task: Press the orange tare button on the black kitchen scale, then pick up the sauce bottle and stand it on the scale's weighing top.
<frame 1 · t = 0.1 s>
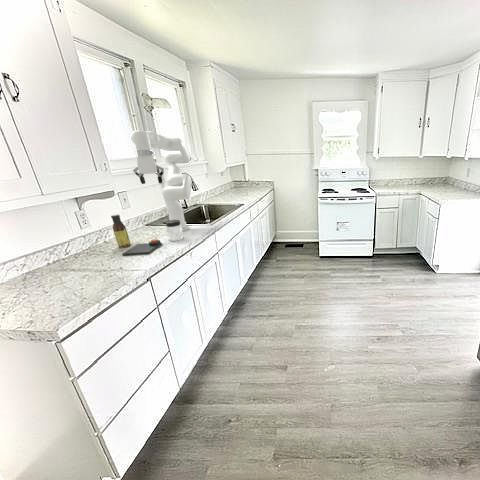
hand: (152, 183, 158), 37 cm above the worktop, tool pointing down, fingers open, 9 cm apart
scale: (143, 250, 154), on the worktop
sauce bottle: (124, 246, 161), on the worktop
jar: (176, 239, 172), on the worktop
tare button: (154, 241, 159), point 3 cm above the worktop, slide at 0.1 cm
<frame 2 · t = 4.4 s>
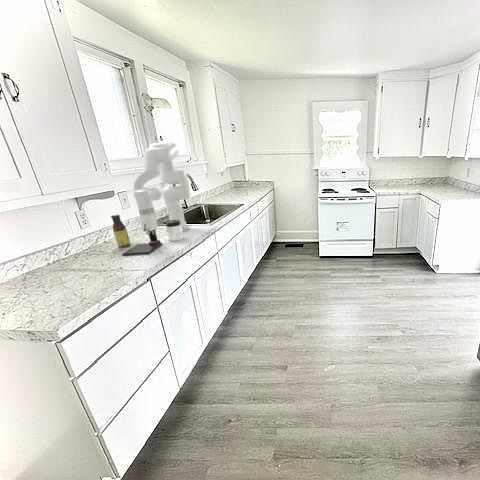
hand: (154, 240, 158), 4 cm above the worktop, tool pointing down, fingers closed
tare button: (154, 241, 159), point 3 cm above the worktop, slide at -0.5 cm, touching gripper
everything else where it was.
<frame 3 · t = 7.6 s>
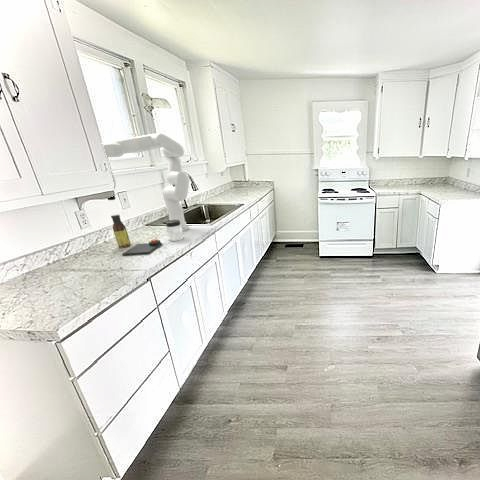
hand: (111, 199, 151), 29 cm above the worktop, tool pointing down, fingers closed
tare button: (154, 241, 159), point 3 cm above the worktop, slide at 0.1 cm
everything else where it was.
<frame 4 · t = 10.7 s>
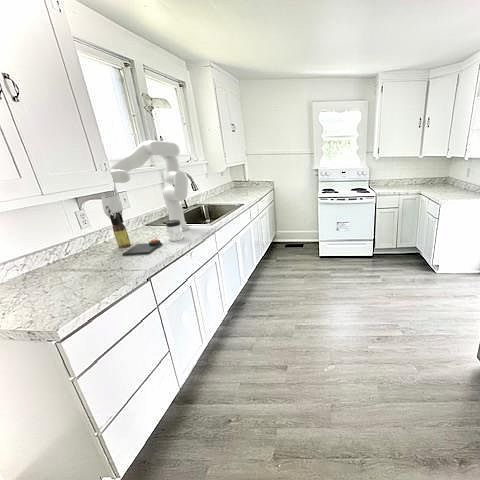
hand: (118, 223, 156), 15 cm above the worktop, tool pointing down, fingers closed on sauce bottle, 4 cm apart
sauce bottle: (124, 246, 161), on the worktop, touching gripper
everything else where it was.
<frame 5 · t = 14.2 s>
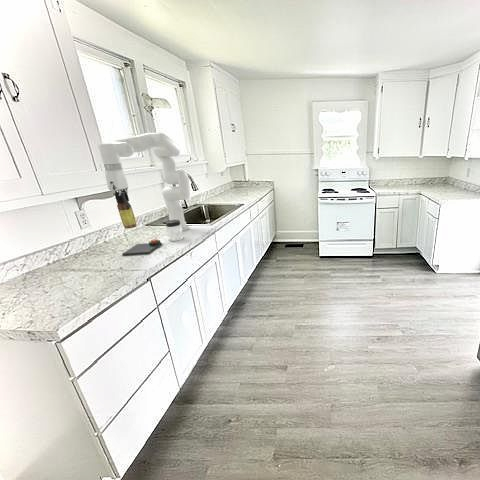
hand: (123, 201, 143), 29 cm above the worktop, tool pointing down, fingers closed on sauce bottle, 4 cm apart
sauce bottle: (130, 227, 148), point 14 cm above the worktop, touching gripper
everything else where it was.
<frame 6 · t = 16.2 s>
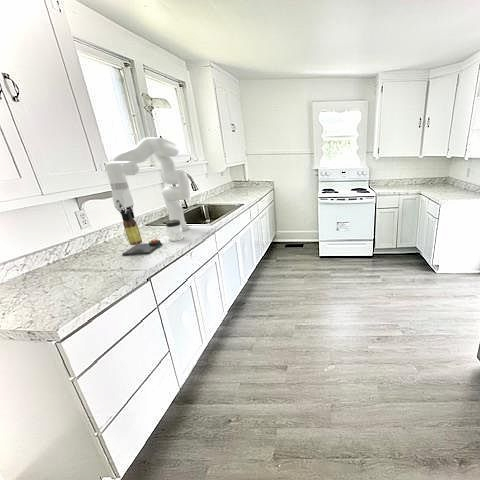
hand: (128, 219, 146), 20 cm above the worktop, tool pointing down, fingers closed on sauce bottle, 4 cm apart
sauce bottle: (136, 243, 151), point 5 cm above the worktop, touching gripper
everything else where it was.
when the fingers open (16 cm above the worktop, at t = 17.6 s): sauce bottle stays where it is, resting on scale.
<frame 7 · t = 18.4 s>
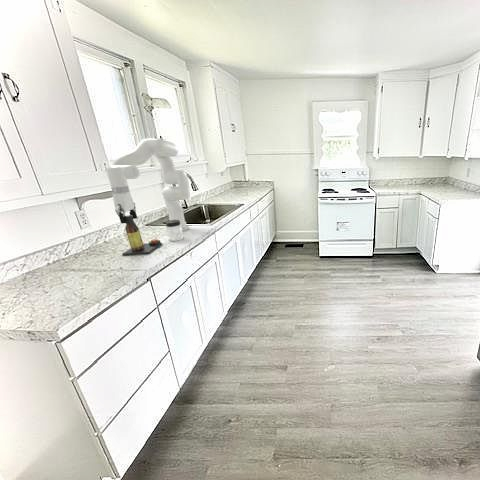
hand: (129, 220, 146), 19 cm above the worktop, tool pointing down, fingers open, 9 cm apart
sauce bottle: (137, 249, 152), point 1 cm above the worktop, touching scale
everything else where it was.
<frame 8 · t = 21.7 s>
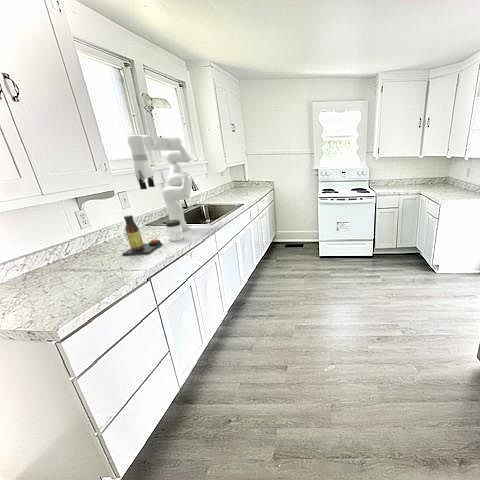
hand: (148, 188, 156), 34 cm above the worktop, tool pointing down, fingers open, 9 cm apart
nothing on the worktop moved.
at the end: tare button pushed in 0.6 cm at the most during the clip and back out by the end; sauce bottle inside the target area on the scale (1.1 cm from its centre), point 1.2 cm above the scale's base; sauce bottle tilted 0° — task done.
